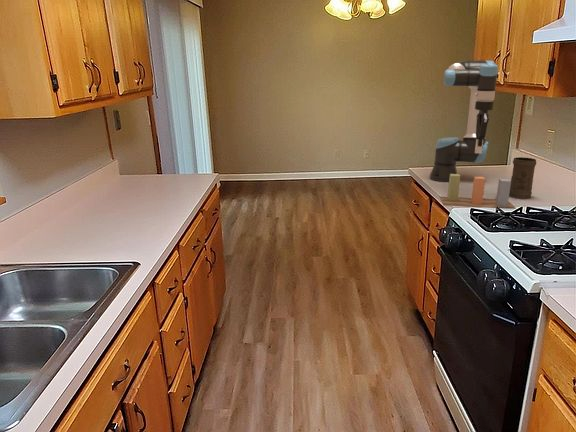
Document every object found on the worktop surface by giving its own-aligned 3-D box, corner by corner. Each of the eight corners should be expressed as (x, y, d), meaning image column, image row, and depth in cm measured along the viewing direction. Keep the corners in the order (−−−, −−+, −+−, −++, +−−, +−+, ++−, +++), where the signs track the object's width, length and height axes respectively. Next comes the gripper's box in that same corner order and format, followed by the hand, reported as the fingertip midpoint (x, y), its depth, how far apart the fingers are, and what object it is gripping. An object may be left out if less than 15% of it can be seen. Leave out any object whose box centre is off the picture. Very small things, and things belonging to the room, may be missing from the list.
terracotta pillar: (471, 201, 213) (474, 176, 209) (480, 202, 212) (483, 176, 208) (472, 204, 209) (476, 178, 205) (482, 204, 208) (485, 178, 205)
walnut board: (438, 199, 221) (438, 196, 221) (506, 201, 216) (507, 199, 216) (443, 208, 207) (443, 205, 207) (516, 211, 202) (516, 208, 202)
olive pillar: (447, 198, 218) (449, 173, 214) (456, 198, 218) (458, 174, 214) (448, 200, 214) (451, 175, 211) (457, 201, 214) (460, 176, 210)
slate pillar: (495, 204, 208) (499, 178, 205) (504, 204, 208) (508, 179, 204) (497, 207, 205) (501, 180, 201) (507, 207, 204) (511, 181, 200)
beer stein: (534, 202, 215) (540, 160, 210) (510, 201, 217) (515, 159, 212) (524, 196, 230) (530, 156, 225) (502, 195, 232) (507, 155, 227)
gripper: (472, 99, 212) (466, 150, 219) (479, 101, 199) (472, 155, 207) (490, 99, 210) (483, 150, 218) (497, 101, 198) (490, 155, 205)
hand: (478, 153), depth 212 cm, fingers closed
